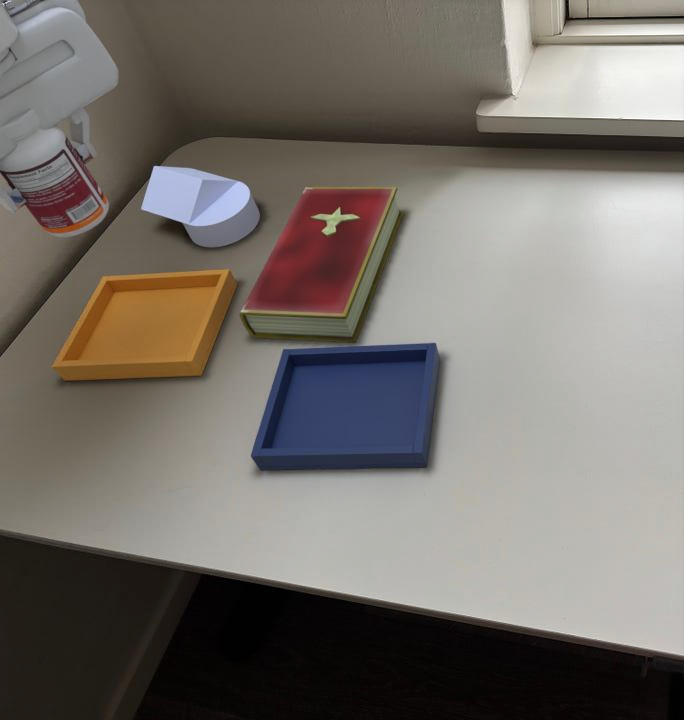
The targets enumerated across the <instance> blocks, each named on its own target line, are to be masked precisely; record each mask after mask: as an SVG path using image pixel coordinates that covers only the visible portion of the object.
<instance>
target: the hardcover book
mask: <svg viewBox="0 0 684 720" xmlns="http://www.w3.org/2000/svg"><path fill="white" fill-rule="evenodd" d="M397 192H398V186H305V188H304V190H303V192H302V194H301V195H300V197H299V199H298V201H297V203H296V205H295V206H294V209H293V210H292V213H291V214H290V216H289V218H288V220H287V222H286V224H285V226H284V228H283V229H282V231H281V234H280V236H279V237H278V239H277V241H276V243H275V245H274V247H273V249H272V251H271V252H270V254H269V257H268V258H267V261H266V262H265V263H264V266H263V268H262V270H261V272H260V273H259V275H258V277H257V279H256V281H255V283H254V285H253V287H252V289H251V291H250V293H249V294H248V296H247V298H246V300H245V303H244V304H243V305H242V307H241V310H240V311H239V317H240V321H241V323H242V325H243V327H244V328H245V330H246V331H247V332H248V333H249V335H250V336H251V337H252V338H255V339H270V340H271V339H272V340H273V339H274V340H293V341H313V342H332V343H333V342H335V343H357V340H358V338H359V336H360V332H361V329H362V327H363V325H364V321H365V318H366V316H367V314H368V311H369V308H370V305H371V303H372V300H373V297H374V295H375V291H376V290H377V287H378V284H379V281H380V278H381V276H382V272H383V270H384V268H385V265H386V262H387V260H388V257H389V254H390V252H391V249H392V247H393V244H394V240H395V238H396V235H397V233H398V230H399V228H400V224H401V221H402V219H403V216H404V214H405V213H404V210H399V207H398V204H397V200H396V199H397V198H396V194H397Z"/></svg>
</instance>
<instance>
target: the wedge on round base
mask: <svg viewBox="0 0 684 720" xmlns="http://www.w3.org/2000/svg"><path fill="white" fill-rule="evenodd" d="M140 210H141V211H146V212H148V213H151V214H154V215H158V216H161V217H164V218H167V219H171V220H173V221H176V222H180V223H182V225H183V227H184V229H185V230H186V232H187V235H188V236H189V238H190V239H191V241H192V242H193V243H194V244H196V245H197V246H200V247H203V248H221V247H225V246H228V245H231V244H235V243H236V242H238V241H240V240H242V239H244V238H245V237H247V236H248V235H250V234H251V233H252V232H253V231H254V230H255V228H256V226H258V224H259V222H260V218H261V214H260V211H259V208H258V206H257V204H256V201H255V199H254V197H253V195H252V192H251V191H250V188H249V187H248V186H247V184H246V183H244V182H243V181H239V180H235V179H232V178H229V177H225V176H221V175H217V174H215V173H214V174H213V173H210V172H207V171H203V170H198V169H197V168H196V169H195V168H193V167H180V166H179V167H177V166H161V165H154V166H153V168H152V171H151V175H150V178H149V181H148V184H147V188H146V191H145V194H144V198H143V201H142V204H141V208H140Z"/></svg>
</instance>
